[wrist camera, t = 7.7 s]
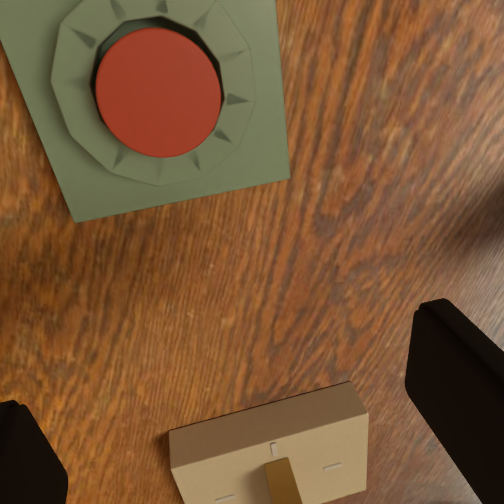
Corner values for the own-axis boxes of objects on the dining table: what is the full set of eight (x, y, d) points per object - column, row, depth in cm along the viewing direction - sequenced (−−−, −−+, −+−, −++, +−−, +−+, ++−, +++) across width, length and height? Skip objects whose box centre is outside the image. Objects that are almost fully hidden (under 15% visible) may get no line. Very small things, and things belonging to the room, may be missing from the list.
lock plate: (196, 502, 34) (200, 543, 32) (168, 430, 29) (170, 472, 26) (351, 456, 36) (367, 492, 33) (351, 380, 31) (370, 415, 28)
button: (120, 154, 15) (117, 168, 14) (84, 36, 13) (75, 39, 12) (222, 134, 16) (229, 146, 14) (203, 18, 14) (209, 18, 12)
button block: (81, 204, 20) (67, 243, 16) (-16, -48, 14) (-67, -68, 11) (278, 164, 21) (302, 192, 18) (254, -82, 16) (282, -110, 12)
